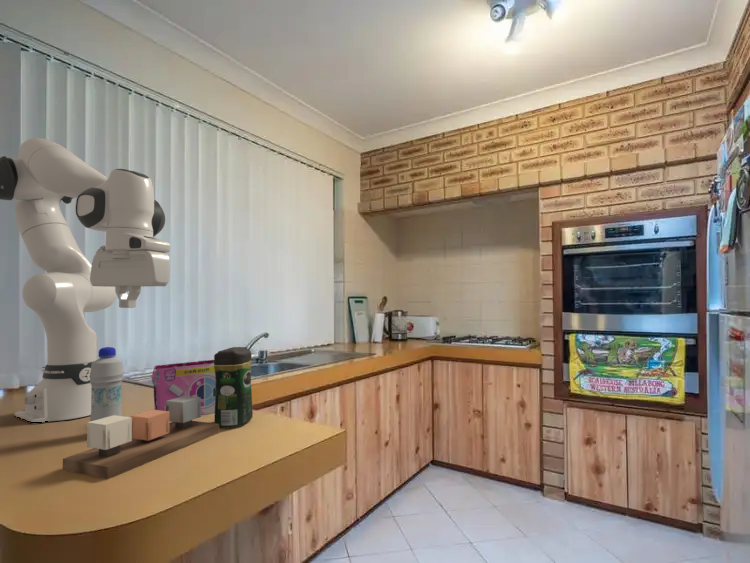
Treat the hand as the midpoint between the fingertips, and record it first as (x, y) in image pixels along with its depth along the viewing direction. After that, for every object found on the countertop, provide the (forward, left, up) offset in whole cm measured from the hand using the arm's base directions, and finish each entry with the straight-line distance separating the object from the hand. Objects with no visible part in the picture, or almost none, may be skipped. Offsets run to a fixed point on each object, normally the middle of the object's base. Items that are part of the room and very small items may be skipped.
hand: (127, 307), depth 88 cm
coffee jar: (+11, +20, -29) cm, 37 cm away
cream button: (+7, -9, -25) cm, 28 cm away
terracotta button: (+7, 0, -26) cm, 27 cm away
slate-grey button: (+7, +8, -25) cm, 28 cm away
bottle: (-12, +4, -29) cm, 32 cm away
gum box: (-5, +26, -29) cm, 40 cm away
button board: (+7, 0, -29) cm, 30 cm away
